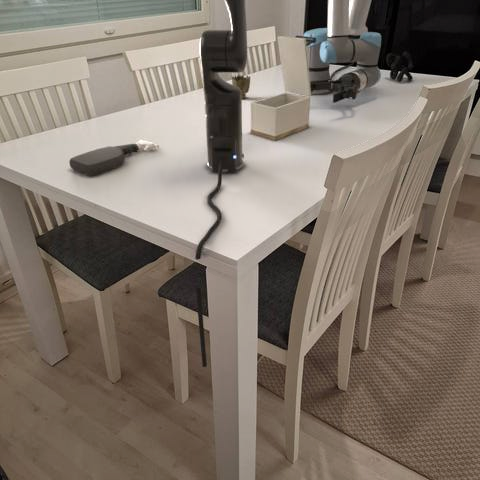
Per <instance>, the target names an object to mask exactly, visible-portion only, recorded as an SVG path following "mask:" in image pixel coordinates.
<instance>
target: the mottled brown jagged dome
mask: <svg viewBox="0 0 480 480" xmlns="http://www.w3.org/2000/svg"><path fill="white" fill-rule="evenodd" d="M251 78H252V77H251V76H248V75H246V76H244V75H243V74H242V75H239V74H238V75H237V76H236V75H234V76H231V84H232V85H234V86H236V87H238V88H239V89H240V90H241V94H242V99H245V98H246V96H247V95H246V94H248V93H249V91H250V85H251Z"/></svg>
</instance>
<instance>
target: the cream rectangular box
mask: <svg viewBox="0 0 480 480" xmlns="http://www.w3.org/2000/svg"><path fill="white" fill-rule="evenodd" d="M310 109H311V96H305V95H300V94H295V93H290V92H285V91H284V92H283V93H279V94H276V95H272V96H269V97H265V98H263V99H259V100H255V101H252V102H250V134H252V135H256V136H259V137H262V138H266V139H269V140H272V141H278V140H281V139H282V138H285V137H287V136H290V135H293V134H296V133H297V132H300V131H304V130H305V129H308V128H310Z"/></svg>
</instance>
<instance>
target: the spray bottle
mask: <svg viewBox="0 0 480 480" xmlns="http://www.w3.org/2000/svg"><path fill="white" fill-rule="evenodd" d="M159 148H160V145H159V144H158V143H155V142H151V141H148V140H144V139H139V140H138V141H137V142H135V143H129V144H128V143H126V144H122V145H113V146H105V147H100V148H97V149H94V150H90V151H87V152H83V153H81V154H78V155H74V156H73V157H70V159H69V161H68V162H69V167H70V168H71V169H72V170H74V171H75V172H78V173H81V174H83V175H85V176H89V177H90V176H91V177H92V176H95V175H99V174H102V173H105V172H107V171H110V170H113V169H116V168H118V167H120V166H122V165H123V164H124V163H125V158H126V156H127V155H131V154H133V153H138V151H140V150H143V151H144V152H146V151H147V150H149V149H159Z"/></svg>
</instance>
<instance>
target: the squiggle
mask: <svg viewBox="0 0 480 480" xmlns="http://www.w3.org/2000/svg"><path fill="white" fill-rule="evenodd" d="M401 57H402V59H401ZM391 59H392V60H391ZM393 60H394V61H393ZM385 61H386V64H387V67H390V68H391V70H390V72H389V78H390V79H391V80H395V79H396V81H397V82H399V83H400V82H402V81H403V79H404V76H406V78H407V80H408V81H412V80H413V79H414V77H413V75H412V74H411V73H410V72H409V71H410V70H412V69H413V68H414V64H413V61H412V57H411V54H410V53H409V52H408V51H403V53H402V54H401V55H396V54H394V53H392V52H390V53H387V55H386V57H385ZM406 62H407V65H408V66H407V67H405V66H404V65H405V64H406ZM400 70H401V71H400Z"/></svg>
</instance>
